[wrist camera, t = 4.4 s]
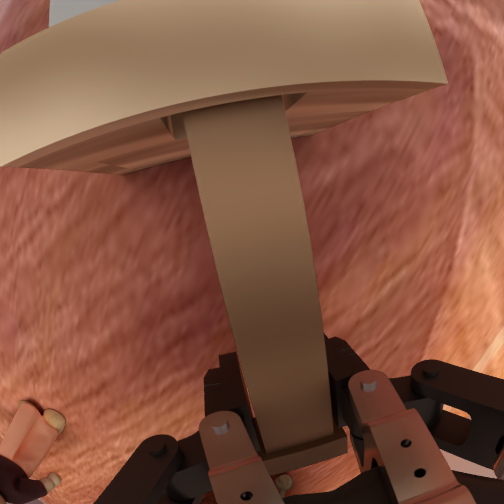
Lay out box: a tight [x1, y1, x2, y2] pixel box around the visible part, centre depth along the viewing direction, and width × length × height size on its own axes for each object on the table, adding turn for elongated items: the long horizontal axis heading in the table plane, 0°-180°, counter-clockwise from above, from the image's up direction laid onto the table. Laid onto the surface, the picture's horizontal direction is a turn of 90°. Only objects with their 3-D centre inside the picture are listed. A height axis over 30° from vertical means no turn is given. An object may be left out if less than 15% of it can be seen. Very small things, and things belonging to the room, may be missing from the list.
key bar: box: [182, 95, 348, 476], centre depth 9 cm, size 12×3×2 cm, turn 12°
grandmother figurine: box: [0, 400, 66, 504], centre depth 12 cm, size 8×4×13 cm, turn 89°
